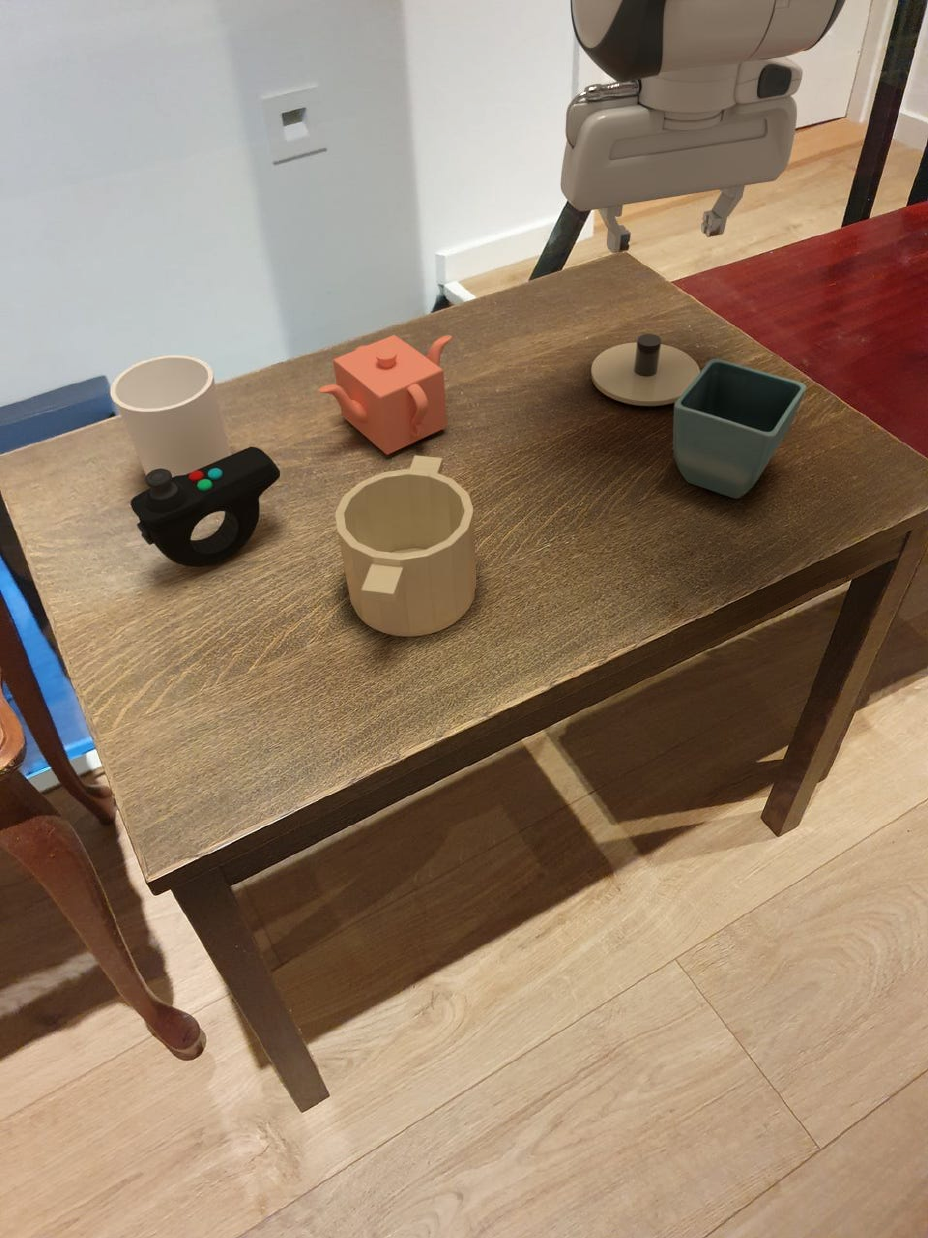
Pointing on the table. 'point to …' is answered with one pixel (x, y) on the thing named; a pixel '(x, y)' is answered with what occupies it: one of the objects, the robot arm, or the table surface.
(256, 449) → the controller
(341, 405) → the teapot
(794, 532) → the table surface
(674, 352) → the lid
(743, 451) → the flower pot
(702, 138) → the robot arm
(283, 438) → the table surface
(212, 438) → the mug
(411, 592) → the pot
